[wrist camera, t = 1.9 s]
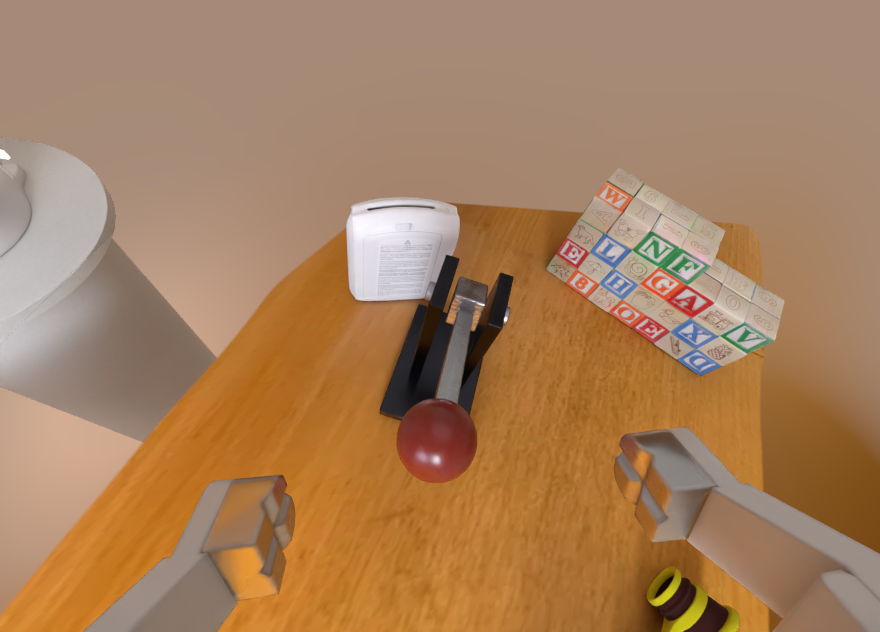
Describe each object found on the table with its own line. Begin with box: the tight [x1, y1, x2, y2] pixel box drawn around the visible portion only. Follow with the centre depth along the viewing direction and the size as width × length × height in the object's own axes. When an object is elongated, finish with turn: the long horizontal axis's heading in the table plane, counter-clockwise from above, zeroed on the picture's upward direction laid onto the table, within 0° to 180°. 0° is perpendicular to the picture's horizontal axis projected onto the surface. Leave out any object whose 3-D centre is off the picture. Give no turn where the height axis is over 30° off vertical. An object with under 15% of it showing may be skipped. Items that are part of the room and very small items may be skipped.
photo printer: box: [346, 197, 460, 301], centre depth 37 cm, size 10×4×12 cm, turn 100°
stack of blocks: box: [546, 168, 785, 376], centre depth 41 cm, size 21×6×12 cm, turn 52°
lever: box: [397, 276, 488, 483], centre depth 22 cm, size 15×4×4 cm, turn 164°
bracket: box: [379, 255, 513, 421], centre depth 32 cm, size 12×8×15 cm, turn 164°
